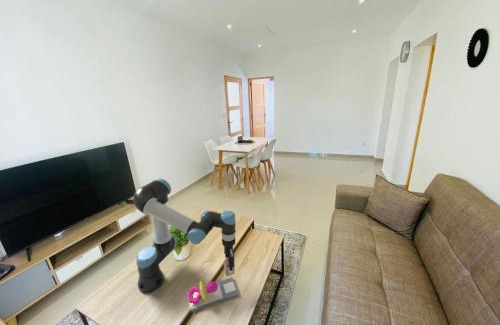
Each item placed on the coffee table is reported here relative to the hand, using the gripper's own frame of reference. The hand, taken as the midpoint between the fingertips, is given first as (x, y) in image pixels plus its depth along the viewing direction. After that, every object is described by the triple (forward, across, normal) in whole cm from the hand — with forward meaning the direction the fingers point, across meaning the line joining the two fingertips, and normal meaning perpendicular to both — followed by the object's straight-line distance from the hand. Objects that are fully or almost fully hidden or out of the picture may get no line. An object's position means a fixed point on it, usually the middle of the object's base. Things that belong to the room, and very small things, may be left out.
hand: (229, 269), depth 126 cm
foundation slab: (+16, 0, +10) cm, 19 cm away
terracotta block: (+2, 0, 0) cm, 2 cm away
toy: (+14, -1, +16) cm, 21 cm away
